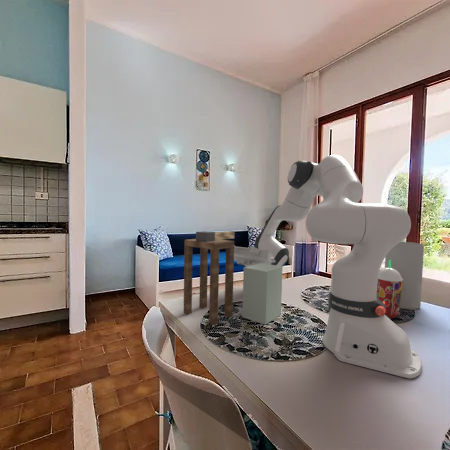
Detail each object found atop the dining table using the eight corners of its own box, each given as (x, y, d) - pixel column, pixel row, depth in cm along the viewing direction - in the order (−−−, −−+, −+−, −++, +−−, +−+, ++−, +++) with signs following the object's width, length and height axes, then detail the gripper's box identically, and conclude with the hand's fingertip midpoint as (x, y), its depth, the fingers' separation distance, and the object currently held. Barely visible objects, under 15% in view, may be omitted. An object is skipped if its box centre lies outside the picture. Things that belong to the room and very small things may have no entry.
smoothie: (406, 320, 89) (409, 262, 88) (382, 319, 89) (385, 262, 88) (391, 311, 97) (394, 258, 96) (369, 310, 97) (371, 257, 96)
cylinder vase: (376, 301, 108) (379, 241, 107) (395, 297, 113) (398, 241, 112) (408, 312, 96) (411, 245, 95) (427, 307, 102) (431, 244, 100)
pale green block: (280, 314, 92) (282, 266, 91) (265, 324, 83) (267, 271, 82) (258, 308, 97) (260, 263, 96) (242, 317, 89) (243, 267, 88)
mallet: (226, 237, 101) (226, 229, 101) (237, 238, 98) (237, 230, 98) (195, 240, 88) (196, 231, 87) (206, 242, 84) (206, 232, 84)
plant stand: (232, 315, 90) (234, 241, 89) (213, 324, 82) (215, 243, 81) (203, 305, 99) (204, 237, 97) (183, 313, 91) (184, 239, 90)
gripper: (275, 269, 107) (261, 256, 97) (235, 263, 120) (218, 251, 110) (279, 255, 109) (265, 241, 100) (239, 251, 122) (223, 238, 112)
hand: (240, 246), depth 105 cm, fingers open, 8 cm apart
